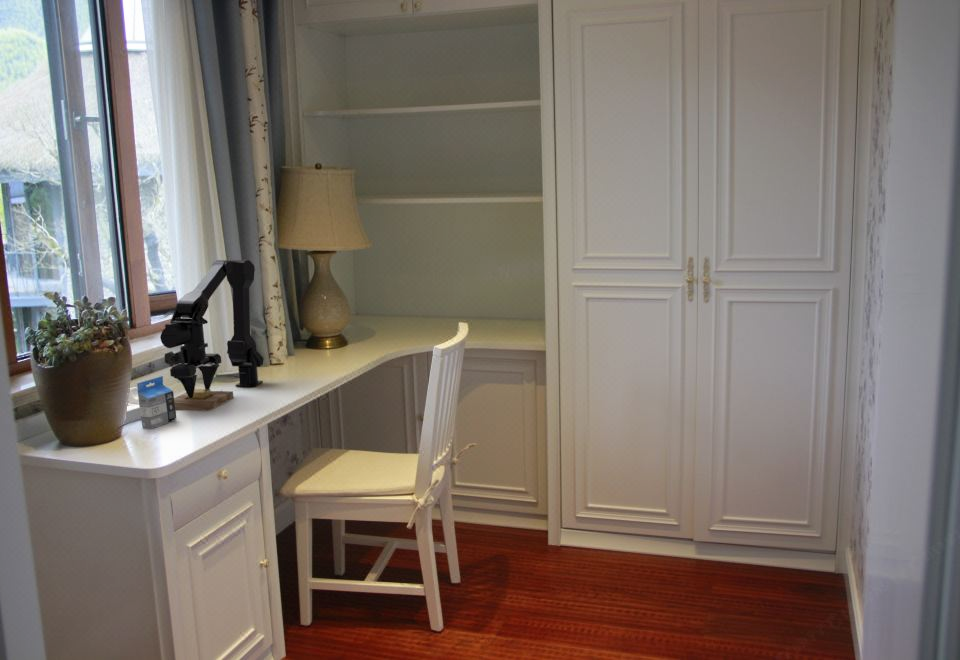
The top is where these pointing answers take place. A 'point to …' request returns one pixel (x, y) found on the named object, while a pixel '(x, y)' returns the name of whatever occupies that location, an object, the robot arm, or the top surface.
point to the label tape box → (156, 403)
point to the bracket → (133, 406)
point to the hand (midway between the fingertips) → (199, 393)
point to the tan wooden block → (201, 394)
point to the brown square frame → (202, 401)
